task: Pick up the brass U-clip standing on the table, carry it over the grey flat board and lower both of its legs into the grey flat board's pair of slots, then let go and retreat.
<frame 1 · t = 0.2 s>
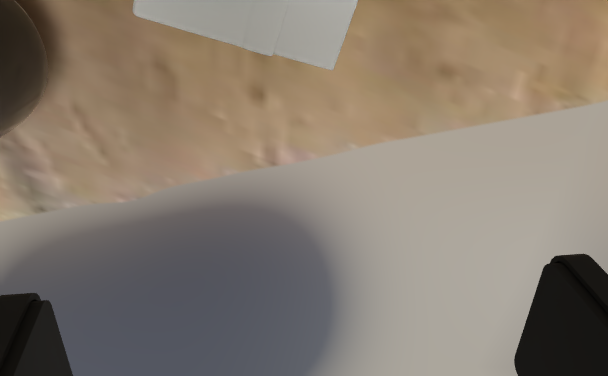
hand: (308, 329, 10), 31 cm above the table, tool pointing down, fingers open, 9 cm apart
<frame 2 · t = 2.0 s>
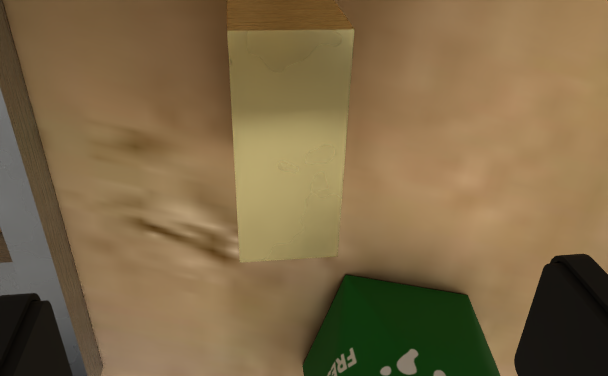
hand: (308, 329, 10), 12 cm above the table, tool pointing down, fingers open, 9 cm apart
milk carton: (382, 328, 29), on the table
clip: (271, 69, 20), on the table
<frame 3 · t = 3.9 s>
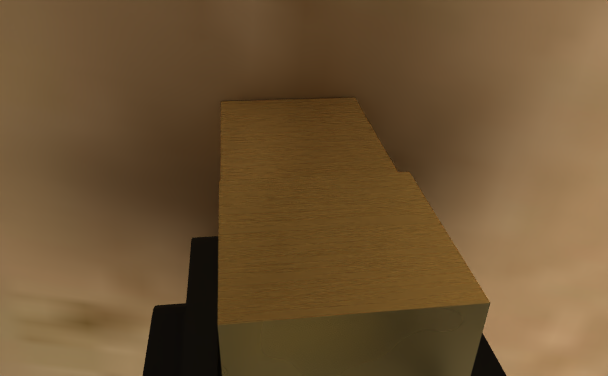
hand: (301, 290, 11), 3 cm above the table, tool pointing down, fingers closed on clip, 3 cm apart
clip: (288, 218, 13), on the table, touching gripper
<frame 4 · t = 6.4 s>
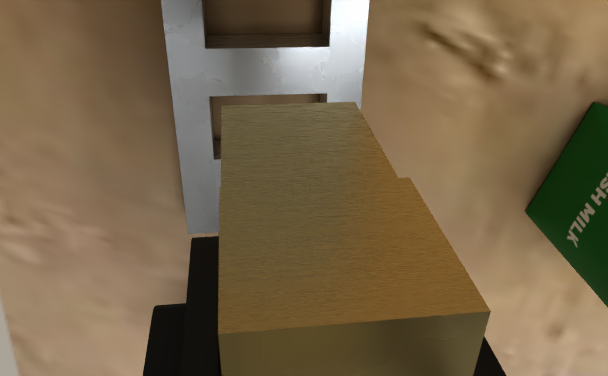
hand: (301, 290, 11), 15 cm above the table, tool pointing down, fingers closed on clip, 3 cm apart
milk carton: (607, 172, 30), on the table
clip: (288, 221, 13), point 12 cm above the table, touching gripper
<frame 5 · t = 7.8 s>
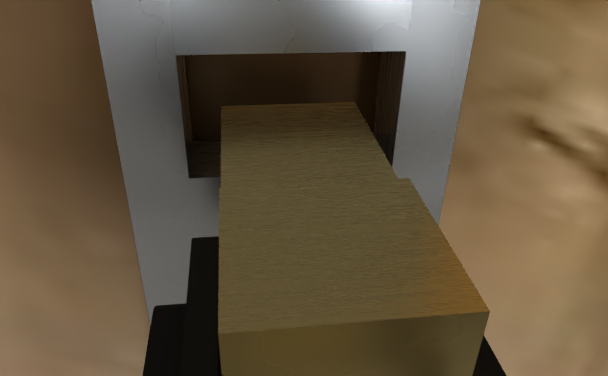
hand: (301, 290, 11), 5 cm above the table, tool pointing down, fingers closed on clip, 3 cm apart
clip: (288, 222, 13), point 2 cm above the table, touching gripper
when the fingers open (3 cm above the table, at t = 9.0 s): clip stays where it is, resting in grey flat board.
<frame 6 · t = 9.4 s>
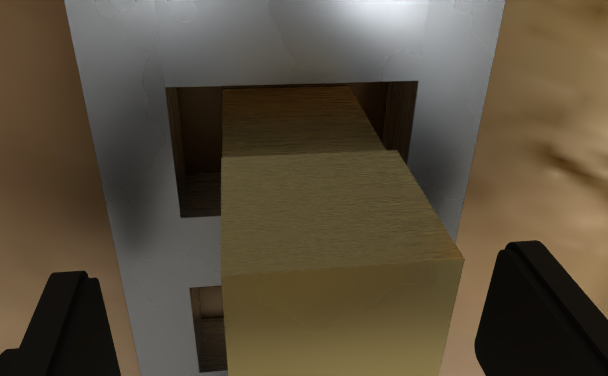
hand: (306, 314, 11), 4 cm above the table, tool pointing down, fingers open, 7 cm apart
grey flat board: (285, 8, 12), on the table
clip: (286, 202, 14), resting in grey flat board
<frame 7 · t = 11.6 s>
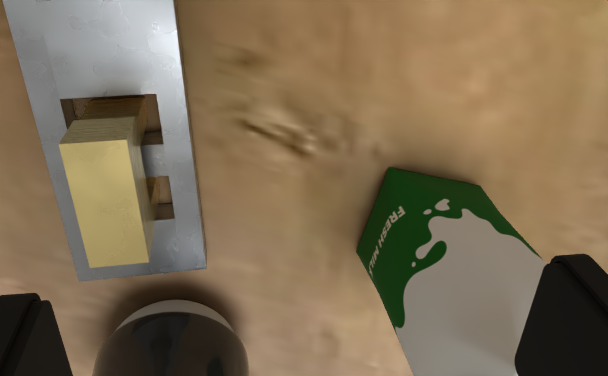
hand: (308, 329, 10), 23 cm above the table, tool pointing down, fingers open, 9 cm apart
pump dispenser: (175, 330, 40), on the table
milk carton: (416, 217, 38), on the table
grey flat board: (111, 67, 30), on the table
clip: (127, 149, 32), resting in grey flat board
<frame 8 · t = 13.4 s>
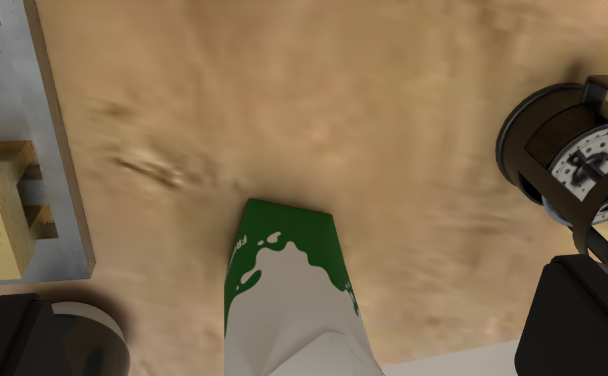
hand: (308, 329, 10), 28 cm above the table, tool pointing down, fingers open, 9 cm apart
pump dispenser: (75, 325, 46), on the table
milk carton: (279, 239, 44), on the table
clip: (18, 179, 38), resting in grey flat board
french press: (552, 131, 42), on the table
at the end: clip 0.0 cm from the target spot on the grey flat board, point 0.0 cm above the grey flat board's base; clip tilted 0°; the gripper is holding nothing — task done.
